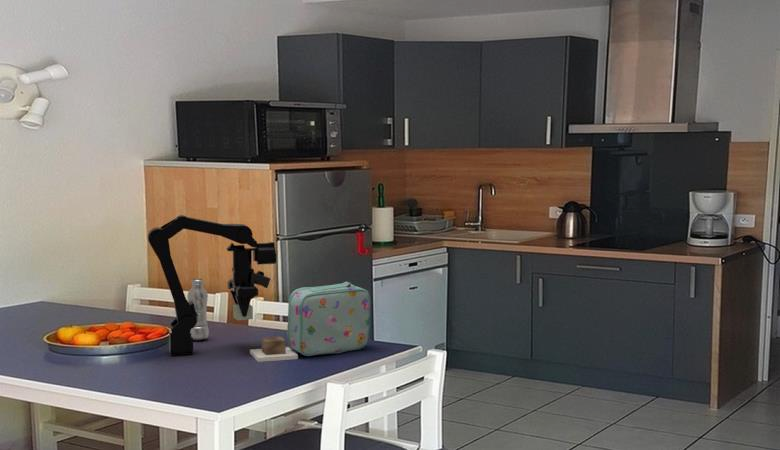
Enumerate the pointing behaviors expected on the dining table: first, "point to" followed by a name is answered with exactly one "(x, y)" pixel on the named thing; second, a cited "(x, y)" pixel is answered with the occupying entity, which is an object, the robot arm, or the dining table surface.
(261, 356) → the base board
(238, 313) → the sage block
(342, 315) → the lunch box
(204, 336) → the plastic bottle
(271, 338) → the walnut block
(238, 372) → the dining table surface
